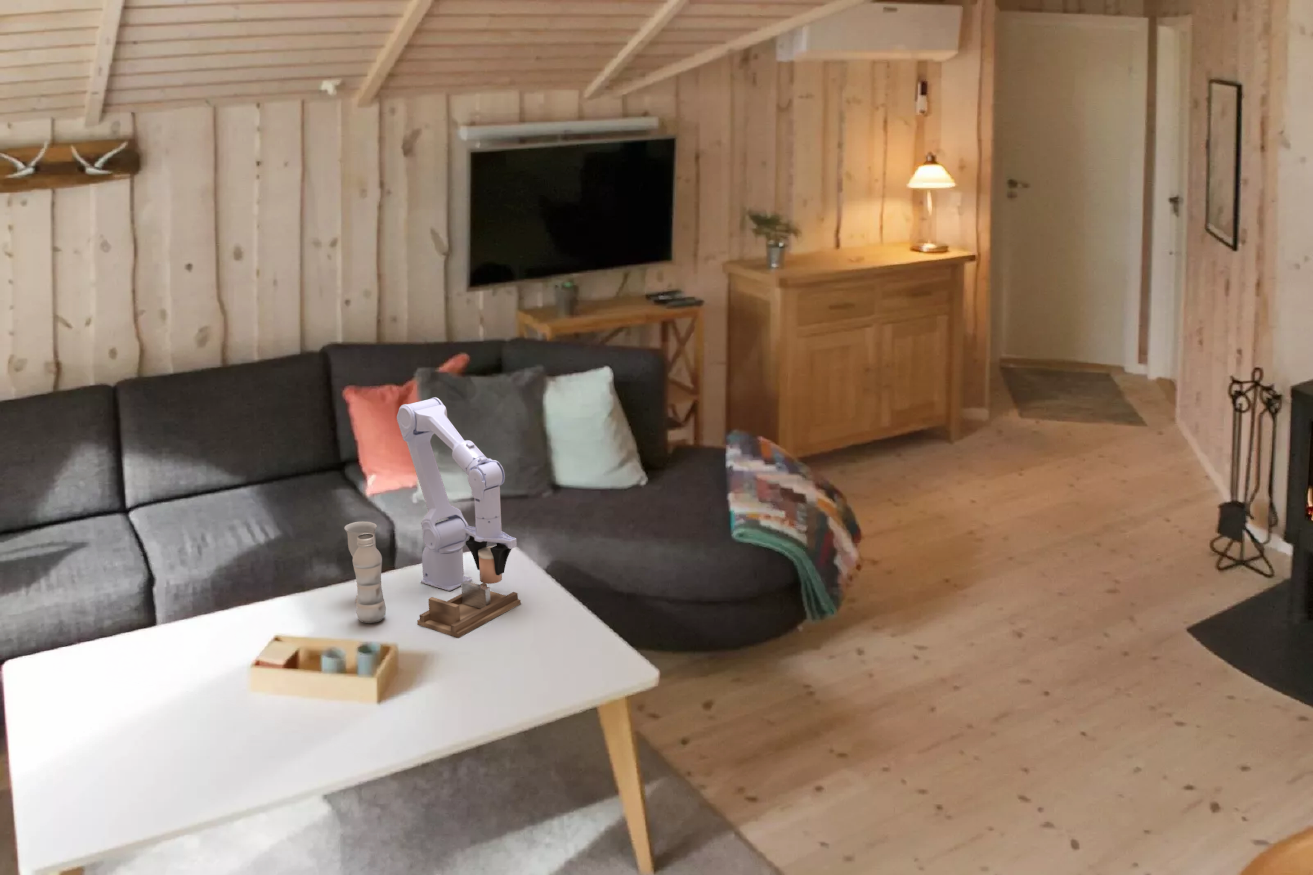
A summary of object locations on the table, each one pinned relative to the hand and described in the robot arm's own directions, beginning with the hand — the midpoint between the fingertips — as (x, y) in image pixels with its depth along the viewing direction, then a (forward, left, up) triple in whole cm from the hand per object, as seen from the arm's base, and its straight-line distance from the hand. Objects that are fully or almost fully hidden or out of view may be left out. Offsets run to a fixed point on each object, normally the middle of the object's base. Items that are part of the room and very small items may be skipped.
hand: (490, 571), depth 300 cm
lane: (0, -7, -8) cm, 11 cm away
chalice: (-25, -15, -8) cm, 30 cm away
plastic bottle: (-16, -22, -8) cm, 28 cm away
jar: (0, 0, -2) cm, 2 cm away
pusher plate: (0, -5, -7) cm, 8 cm away
